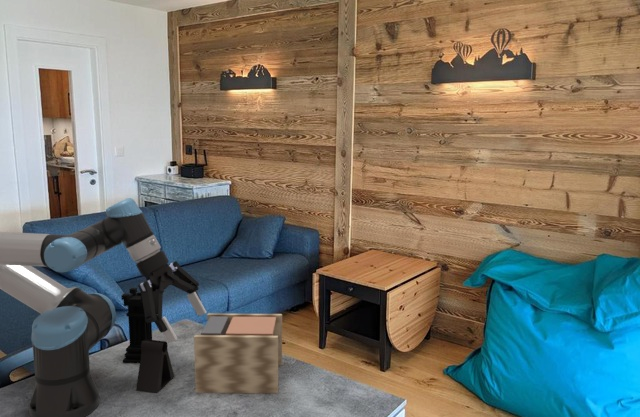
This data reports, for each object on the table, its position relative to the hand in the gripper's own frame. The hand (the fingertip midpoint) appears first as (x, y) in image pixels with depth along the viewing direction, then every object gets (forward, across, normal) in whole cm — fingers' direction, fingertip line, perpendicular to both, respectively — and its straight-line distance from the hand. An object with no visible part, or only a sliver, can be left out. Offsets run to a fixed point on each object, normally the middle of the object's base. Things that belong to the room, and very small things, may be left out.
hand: (188, 327), depth 135 cm
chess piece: (+6, +5, +27) cm, 28 cm away
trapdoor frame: (+20, +5, -3) cm, 21 cm away
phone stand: (+10, -6, +14) cm, 18 cm away
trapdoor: (+10, +6, -8) cm, 14 cm away
